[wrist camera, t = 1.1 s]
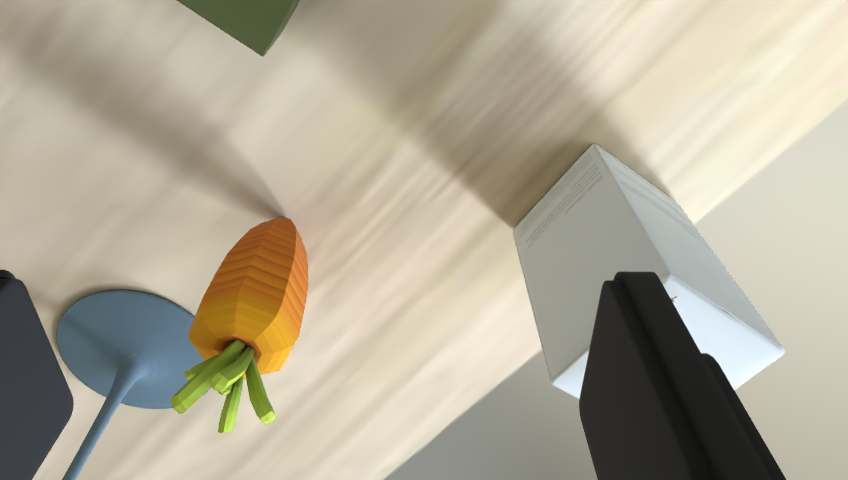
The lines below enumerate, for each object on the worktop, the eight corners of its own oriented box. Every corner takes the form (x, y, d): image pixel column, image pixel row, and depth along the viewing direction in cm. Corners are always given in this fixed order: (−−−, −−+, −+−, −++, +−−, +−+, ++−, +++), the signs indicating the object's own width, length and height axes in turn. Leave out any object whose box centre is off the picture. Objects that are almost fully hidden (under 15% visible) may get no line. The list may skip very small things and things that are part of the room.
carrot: (343, 225, 37) (304, 421, 24) (286, 269, 38) (221, 473, 26) (282, 168, 35) (204, 350, 22) (225, 217, 36) (122, 411, 24)
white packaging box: (507, 230, 37) (543, 384, 26) (593, 138, 34) (674, 270, 23) (595, 287, 39) (660, 449, 29) (683, 205, 36) (794, 354, 26)
